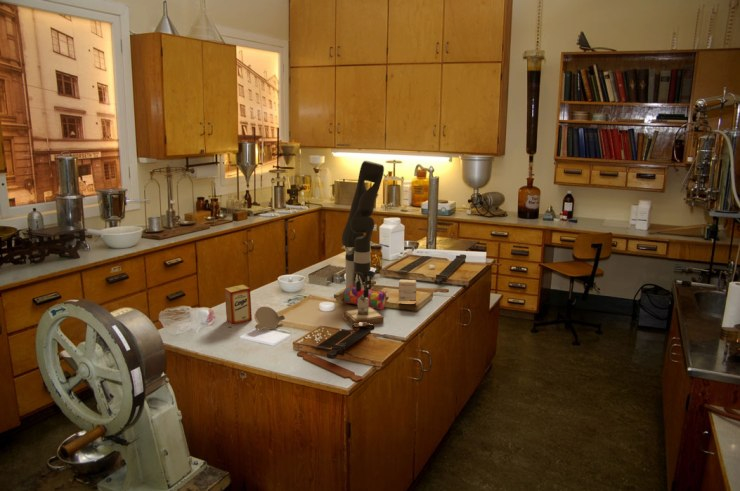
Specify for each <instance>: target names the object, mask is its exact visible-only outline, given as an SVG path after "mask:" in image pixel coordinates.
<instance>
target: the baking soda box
mask: <svg viewBox="0 0 740 491" xmlns="http://www.w3.org/2000/svg"><path fill="white" fill-rule="evenodd" d="M224 298H225V300H224V302H225V313H226V314H225V316H226V322H228V323H229V322H230V323H231V325H232V324H235V325H238V324H243V323H246V322H251V321H252V320H253V318H252V315H253V314H252V302H251V301H252V299H251V288H250V287H248V286H247V285H246V284H239V285H235V286H231V287H226V288H224ZM230 323H229V324H230Z"/></svg>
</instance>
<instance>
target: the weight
mask: <svg viewBox="0 0 740 491" xmlns="http://www.w3.org/2000/svg"><path fill="white" fill-rule="evenodd" d="M357 309H358V314H359V315H367V314H368V313H369V299H368V298H364V297H363V296H360V298H358V305H357Z"/></svg>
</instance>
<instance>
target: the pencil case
mask: <svg viewBox="0 0 740 491" xmlns="http://www.w3.org/2000/svg"><path fill="white" fill-rule="evenodd" d="M363 290H364V289H363V288H361V291H358V292H357V291H356V287H353V286H350V287H348V288H346V287H345V289H344V292H343V297H342V298H343V300H344V303H346V304H350V305H351V304H352V305H354V306H358V298H360V296H363ZM387 293H388V290H387V291H385V292H384V290H383V291H382V290H379V291H374V290H372V289H369V296H368V297H366V298H368V299H369V307H372V308H373V309H374V310H383V309H384V308H386V306H387V301H388V300H389V298H390V296H387Z"/></svg>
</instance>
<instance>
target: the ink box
mask: <svg viewBox="0 0 740 491" xmlns="http://www.w3.org/2000/svg"><path fill="white" fill-rule="evenodd" d="M399 301H416V302H417V280H416V279H399V280H398V302H399Z"/></svg>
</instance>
